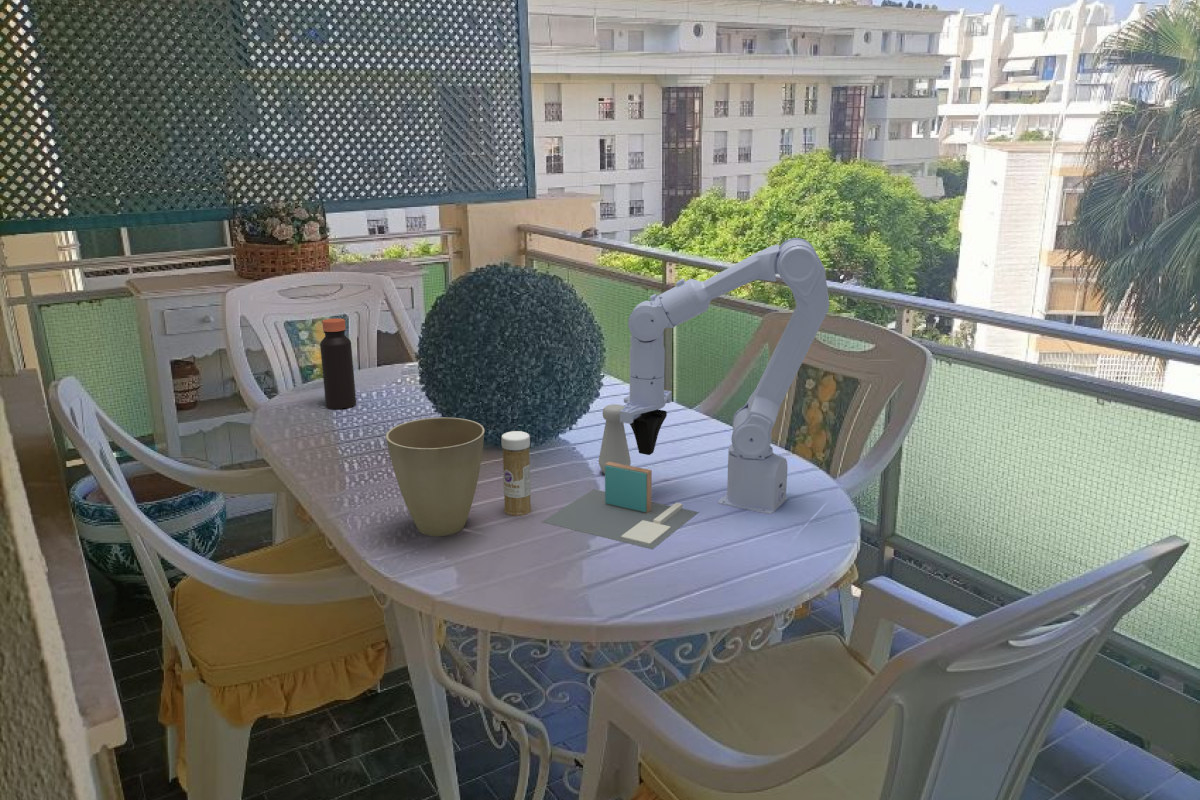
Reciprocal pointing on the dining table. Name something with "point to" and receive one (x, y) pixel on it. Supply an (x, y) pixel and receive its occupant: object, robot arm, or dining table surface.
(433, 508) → the plant pot
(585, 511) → the mat
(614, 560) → the dining table surface
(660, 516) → the turner
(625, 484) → the tile
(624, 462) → the salt shaker
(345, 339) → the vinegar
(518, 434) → the sprinkles bottle
